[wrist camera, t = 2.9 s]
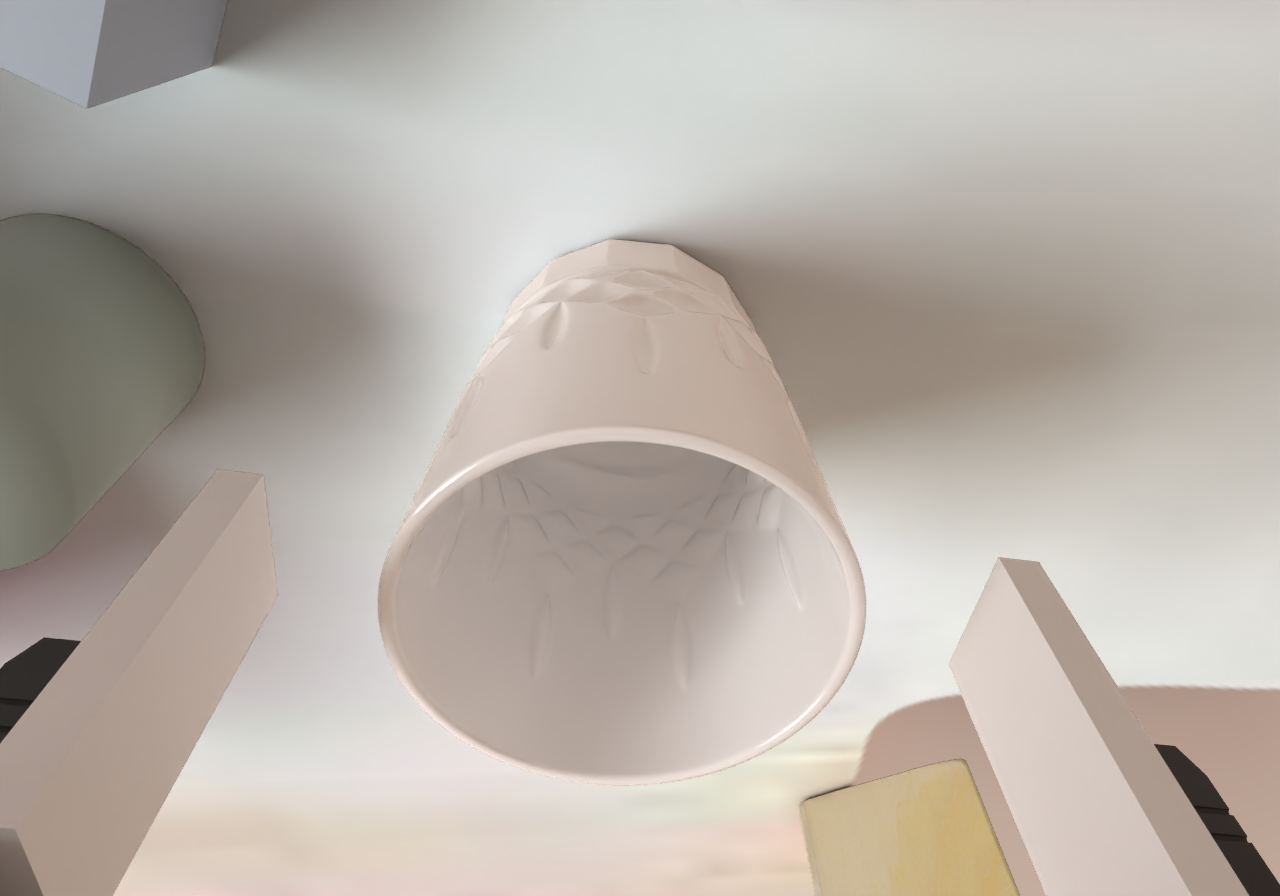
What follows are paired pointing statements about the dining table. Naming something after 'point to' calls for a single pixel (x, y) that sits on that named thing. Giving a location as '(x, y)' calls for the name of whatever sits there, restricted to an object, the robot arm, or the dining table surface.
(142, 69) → the slate blue block
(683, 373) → the white cup
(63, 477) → the grayish green cylinder
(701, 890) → the dining table surface
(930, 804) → the toy refrigerator
